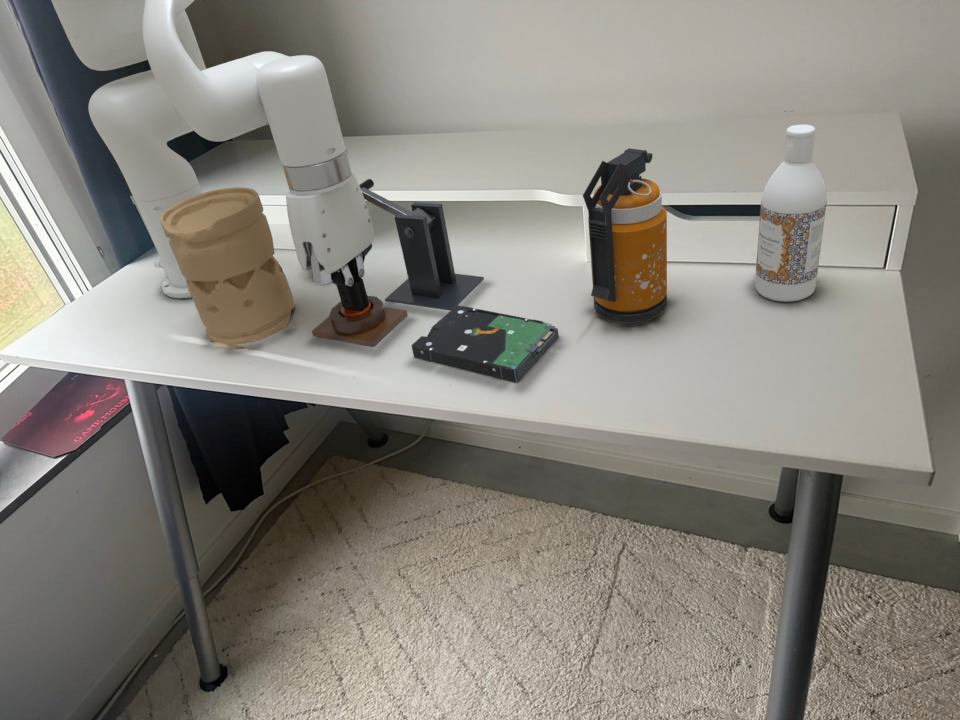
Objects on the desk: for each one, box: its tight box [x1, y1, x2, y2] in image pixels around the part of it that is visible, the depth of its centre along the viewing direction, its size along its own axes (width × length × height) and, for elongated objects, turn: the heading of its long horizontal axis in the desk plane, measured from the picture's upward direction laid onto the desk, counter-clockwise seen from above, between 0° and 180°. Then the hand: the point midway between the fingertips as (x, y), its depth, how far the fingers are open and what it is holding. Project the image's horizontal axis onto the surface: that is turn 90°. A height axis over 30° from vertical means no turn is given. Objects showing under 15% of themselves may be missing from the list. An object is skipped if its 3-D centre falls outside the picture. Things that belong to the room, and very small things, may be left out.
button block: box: [311, 294, 409, 348], centre depth 95 cm, size 10×8×4 cm
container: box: [160, 186, 296, 351], centre depth 97 cm, size 13×13×18 cm
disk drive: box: [411, 305, 559, 384], centre depth 86 cm, size 10×3×15 cm
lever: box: [359, 178, 436, 233], centre depth 96 cm, size 12×6×2 cm, turn 62°
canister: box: [582, 148, 668, 324], centre depth 84 cm, size 9×11×20 cm
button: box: [341, 302, 372, 318], centre depth 94 cm, size 4×4×2 cm
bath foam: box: [754, 124, 828, 303], centre depth 83 cm, size 7×7×20 cm
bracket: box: [384, 201, 485, 312], centre depth 98 cm, size 11×9×13 cm
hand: (356, 306), depth 94 cm, fingers closed
